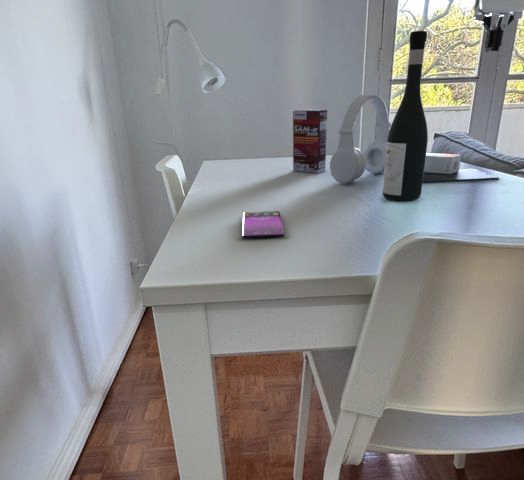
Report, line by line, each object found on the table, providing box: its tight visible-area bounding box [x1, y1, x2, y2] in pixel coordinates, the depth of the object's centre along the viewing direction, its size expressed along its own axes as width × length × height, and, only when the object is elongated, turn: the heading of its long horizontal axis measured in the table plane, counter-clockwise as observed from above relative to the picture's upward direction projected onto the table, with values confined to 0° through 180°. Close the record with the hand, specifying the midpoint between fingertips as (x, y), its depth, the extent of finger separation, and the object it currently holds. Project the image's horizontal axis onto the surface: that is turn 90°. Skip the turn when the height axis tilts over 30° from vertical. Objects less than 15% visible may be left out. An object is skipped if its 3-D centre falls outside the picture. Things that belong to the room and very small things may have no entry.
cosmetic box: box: [424, 152, 462, 174], centre depth 125 cm, size 6×4×12 cm
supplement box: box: [292, 108, 328, 174], centre depth 133 cm, size 9×5×16 cm, turn 55°
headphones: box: [329, 94, 392, 185], centre depth 119 cm, size 20×8×19 cm, turn 138°
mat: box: [422, 168, 500, 185], centre depth 121 cm, size 22×14×1 cm, turn 93°
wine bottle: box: [382, 30, 429, 203], centre depth 94 cm, size 8×8×30 cm
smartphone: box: [241, 210, 286, 239], centre depth 85 cm, size 7×15×1 cm, turn 1°
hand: (491, 51), depth 108 cm, fingers closed
